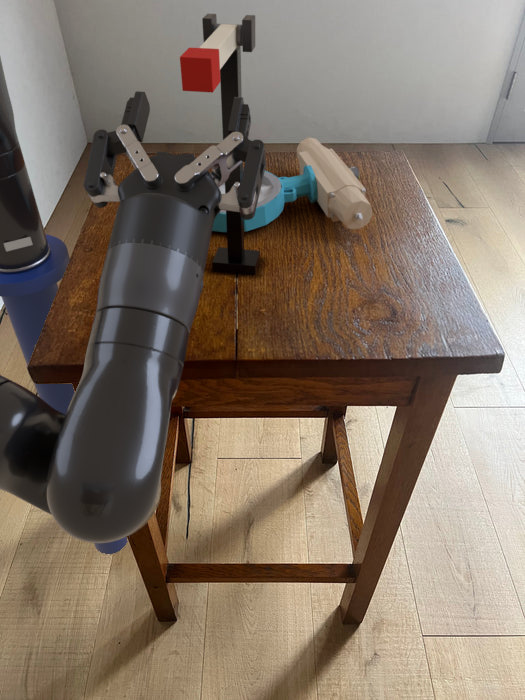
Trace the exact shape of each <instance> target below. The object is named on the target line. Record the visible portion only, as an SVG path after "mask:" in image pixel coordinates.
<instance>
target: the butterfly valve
mask: <svg viewBox="0 0 525 700" xmlns="http://www.w3.org/2000/svg"><path fill="white" fill-rule="evenodd" d="M296 157H297V159H298V165H299V175H294V176H289V177H288V176H280V177H279V176H277V175H276V174H273V173H272V172H270V171H268V170H265V172H264V177H263V181H262V185H261V190H260V194H259V198H258V203H257V207H256V211H255V215H254V217H253V218H252V219H250V220H245V219H244V233H246V232H250V231H253V230H256V229H258V228H261V227H264V226H267V225H269V224H270V223H271V222H273V221H274V220H276V219H277V218H278V217H279V216H280V215H281V213H282V212H283V210H284V207H285V203H292V202H295V201H296V200H297V198H302V197H307V198H308V200H309V202H310V203H311V204H314V203H316V202H317V204H318V205H319V206H320V208H321V210H322V211H323V213H324V214H325V216H326V217H327V218H330V220H331V221H332V222H333V223H335V222H339V221H341V223H342V224H343V225H344V226H345V227H346V229H349V230H353V231H356V230H360V229H363V228H364V227H365V226H367V225H368V224H369V223H370V221H371V219H372V217H373V216H374V215H373V208H372V204H371V202H369V200H368V199H367V198H366V192H367V189H366V187H365V186H364V185H363V184H362V183H361V181H360V179H361V176H360V170H359V168H358V167H357V166H355V165H354V166H351V167H348V165H346V163H345V162H344V161H343V160H342V158H341V157H340V156H339V155H338V153H336V152H335V150H334V149H333V148H328V147H326V146H325V145H323V144H322V143H321V142H320V141H319V140H318V139H317V138H315V137H314V138H313V137H306V138H305V139H303V140H301V141H300V142H299V144H298V146H297V147H296ZM219 189H220V191H221V194H225V182H224V183H223V184H222V185H221V186H220V187H219ZM212 232H219V233H227V223H226V211H225V210H221V211H220V212H219V213H218V214H217V216H216V217H215V219H214V222H213V228H212Z"/></svg>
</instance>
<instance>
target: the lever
mask: <svg viewBox="0 0 525 700" xmlns="http://www.w3.org/2000/svg"><path fill="white" fill-rule="evenodd" d="M237 46H240V47H243V46H242V24H239V23H236V24H235V23H217V24H216V26H215V31H214V32H213V33H212V34H211V36H210V37H209V38H208V39H207V40H206V41H205V42H204V41H203V43H202V44H201V45H200V46H199V47H188V48H187V49H186V50H185V51H184V52H183V53H182V54H181V55H180V56H179V65H180V76H181V78H180V79H181V87H182V88H181V89H182V91H183V92H194V93H214V92H215V90H216V89H217V88H218V86H219V85H220V84H221V82H220V69H221V68H222V67H223V65H224V64H225V62H226V61H227V60H228V58H229V57H230V56H231V54H232V53H233V52H234V50H235V49H236V47H237Z"/></svg>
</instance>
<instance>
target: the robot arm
mask: <svg viewBox="0 0 525 700" xmlns="http://www.w3.org/2000/svg"><path fill="white" fill-rule="evenodd" d="M1 57H2V56H0V273H2V274H16V273H22V272H26V271H29V270H32V269H35V268H37V267H39V266H40V265H42V264H43V263H45V262H46V261H47V260H48V258H49V257H50V254H51V250H50V247H49V244H48V241H47V239H46V235H45V234H46V231H45V228H44V225H43V222H42V221H43V220H42V218H41V214H40V211H39V207H38V203H37V200H36V197H35V193H34V189H33V186H32V182H31V179H30V175H29V172H28V168H27V164H26V162H25V161H26V160H25V158H24V154H23V151H22V148H21V144H20V141H19V137H18V133H17V130H16V122H15V121H16V120H15V113H14V109H13V103H12V101H11V97H10V93H9V89H8V85H7V84H8V83H7V80H6V76H5V72H4V71H5V70H4V67H3V61H2V58H1ZM150 112H151V106H150V102H149V99H148V96H147V93H146V92H145V91H140V90H137V91H134V95H133V97H129V98H128V99H127V101H126V105H125V108H124V112H123V115H122V120H121V123H120V125H119V126H117V128H116V129H115V130H113V131H107V130H106V129H98V130H96V131H95V132H94V133H93V136H92V141H91V142H92V143H91V146H90V152H89V157H88V162H87V167H86V172H85V177H84V180H83V181H84V182H83V188H84V190H85V191H86V193H87V195H88V197H89V198H90V200H91V201H92V203H93V205H94V206H95V207H96V208H99V209H103V208H105V207H106V206H107V205H108V204H109V203H119V204H118V206H117V209H116V214H115V218H114V222H113V225H112V229H111V234H110V239H109V242H108V246H107V250H106V255H105V259H104V263H103V267H102V271H101V275H100V279H99V284H98V289H97V302H96V309H95V314H94V318H93V323H92V326H91V329H90V330H91V331H90V334H89V339H88V343H87V348H86V352H85V357H84V362H83V363H84V364H83V369H82V373H81V376H80V379H79V382H78V383H79V384H78V386H77V388H76V391H75V393H74V395H73V398H72V400H71V402H70V405H69V408H68V410H67V413H66V415H65V414H63V413H61V412H59V411H57V410H56V409H54V408H53V407H51V406H50V405H49V404H47V403H46V402H45V401H44V400H42V399H41V398H40V397H39V395H38V394H35V393H34V392H33V391H31V390H29V389H28V388H26V387H25V386H23V385H22V384H19V383H17V382H15V381H13V380H11V379H9V378H7V377H5V376H3V375H1V374H0V491H4V492H6V493H9V494H11V495H12V496H13V497H16V498H18V499H20V500H21V501H24V502H26V503H28V504H30V505H31V506H34V507H35V508H37V509H39V510H41V511H43V512H45V513H46V514H48V515H51V516H52V518H53V520H54V521H55V522H56V524H57V525H58V526H59V527H60V529H61V530H63V531H64V532H65V533H66V534H68V535H69V536H70V537H72V538H74V539H76V540H78V541H82V542H85V543H90V544H94V543H108V542H113V541H117V540H120V539H122V538H125V537H127V536H129V537H130V536H132V535H133V534H135V533H137V532H138V531H140V530H141V529H142V528H143V527H144V526H146V525H147V524H148V522H150V520H151V519H152V517H153V516H154V514H155V512H156V510H157V508H158V506H159V503H160V500H161V493H162V472H163V465H164V464H163V463H164V458H165V451H166V445H167V440H168V439H167V438H168V431H169V425H170V418H171V411H172V403H173V400H174V399H175V397H176V395H177V393H178V390H179V386H180V383H181V380H182V374H183V371H184V366H185V365H184V364H185V362H186V361H185V360H186V355H187V349H188V344H189V340H190V334H191V331H192V330H191V329H192V326H193V322H194V319H195V317H196V314H197V311H198V308H199V303H200V299H201V294H202V293H203V289H204V276H205V275H204V274H205V271H206V265H207V259H208V254H209V249H210V244H211V238H212V233H213V231H212V228H213V222H214V219H215V217H216V216H217V214H218V213H219V212H220V211H221V210H225V211H233V212H240V215H241V217H242V218H243V219H245V220H250V219H252V218H253V217H254V215H255V211H256V207H257V203H258V198H259V194H260V190H261V185H262V181H263V177H264V172H265V171H266V168H267V159H266V150H265V143H264V141H263V140H261V139H253V140H251V139H249V136H250V130H251V129H250V128H251V124H252V118H251V117H252V116H251V110H250V106H249V104H247V103H245V101H244V97H243V96H242V97H234V100H233V106H232V111H231V117H230V122H229V127H228V134H229V136H227V137H226V138H225V139H224V140H223V139H222V141H221V142H219V143H218V144H217V145H214V144H212V145H210V146H209V147H208V148H206V149H205V150H204V151H203V152H202V153H201V154H199V155H198V156H197V157H196V155H195V153H180V154H173V153H170V152H166V151H156V154H154V155H151V156H149V155H148V154H147V152H146V151H145V149H144V147H143V146H142V144H141V143H143V141H144V137H145V133H146V128H147V124H148V119H149V116H150ZM122 154H126V156H127V158H128V159H129V161H130V163H131V164H132V166H133V168H134V170H133V171H132V172H130V173H129V174H128V175H127V176H126V177H124V179H123V180H121V181H120V183H119V184H118V185H117V182H116V180H115V179H114V173H115V167H116V162H117V156H118V155H122ZM242 162H243V163H244V164H243V173H242V177H241V181H240V183H239V182H236V183H235V184H234V185H233V186H232V188H231V190H230V191H229V192H228V193H226V194H221V191H220V189H219V187H220V186H221V185H222V184H223V183H224V182H226V181H227V179H228V178H229V175H230V173H231V172H232V171H233V170H234V169H235V168H237V167H238V166H239V165H240V164H241V163H242ZM210 170H211V172H210Z"/></svg>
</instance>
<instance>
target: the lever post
mask: <svg viewBox="0 0 525 700" xmlns="http://www.w3.org/2000/svg"><path fill="white" fill-rule="evenodd" d="M217 22H218V21H217V13H206V14H205V15H204V16H203V17H202V23H201V24H202V36H203V37H202V38H203V39H202V40H203V43H204V42H205V41H206V40H207V39H208V38H209V37H210V36H211V34H212V33H213V32H214V31H215V26H216V24H218V23H217ZM241 25H242V46H237V47H236V49H235V50H234V52H233V53H232V54H231V56H230V57H229V58H228V60H227V61H226V62H225V64H224V65H223V67H222V68H221V69H220V102H221V124H222V125H221V127H222V141H223V140H224V139H225V138H226V137H227V136H229V134H228V127H229V122H230V117H231V111H232V106H233V100H234V97H243V96H242V95H243V94H242V54H241V53H252V52H253V51H254V49H255V48H256V15H255V14H246V15H244V17H243V18H242V20H241ZM241 49H242V50H241ZM243 169H244V162H242V163H241V164H240V165H239V166H238V167H237V168H235V169H234V170H233V171H232V172H231V173H230V175H229V178H228V179H227V181H226V182H225V194H226V193H228V192H229V191H230V190H231V188H232V186H233V185H234V184H235V183H236V182H239V183H240V181H241V177H242V173H243ZM226 223H227V232H226V242H227V243H226V245H227V247H222V246H220V247H217V249H216V252H215V255H214V257H213V259H212V262H211V263H212V264H211V265H212V271H213V272H217V273H228V274H239V275H251V276H256V274H257V271H258V268H259V264H260V261H261V251H260V250H257V249H245V232H244V219H243V218H242V217H241V215H240V212H233V211H226Z"/></svg>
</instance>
